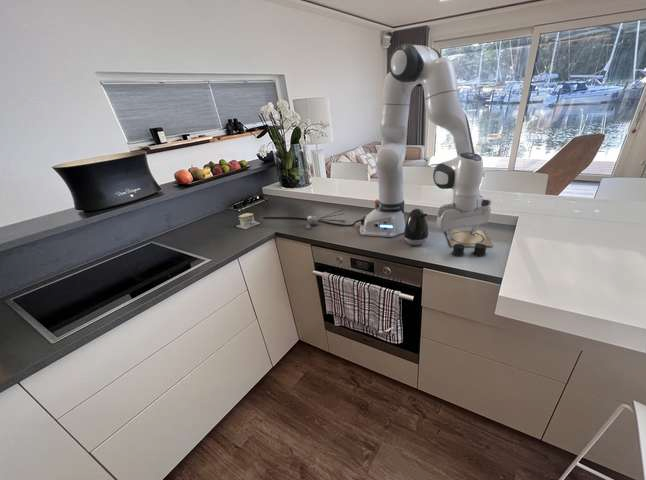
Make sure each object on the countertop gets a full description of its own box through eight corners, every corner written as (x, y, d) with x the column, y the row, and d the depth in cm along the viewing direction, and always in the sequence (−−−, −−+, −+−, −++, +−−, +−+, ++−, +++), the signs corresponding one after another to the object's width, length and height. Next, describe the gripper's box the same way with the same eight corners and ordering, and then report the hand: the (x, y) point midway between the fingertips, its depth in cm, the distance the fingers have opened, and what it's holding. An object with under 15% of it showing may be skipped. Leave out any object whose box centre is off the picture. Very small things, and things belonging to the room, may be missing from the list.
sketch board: (450, 247, 118) (450, 245, 118) (445, 231, 132) (445, 230, 131) (491, 247, 116) (491, 245, 115) (482, 231, 129) (482, 230, 129)
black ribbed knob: (453, 256, 111) (454, 248, 109) (452, 251, 114) (453, 243, 113) (464, 256, 110) (465, 248, 109) (462, 251, 114) (463, 243, 112)
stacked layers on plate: (245, 229, 150) (242, 219, 147) (235, 226, 155) (232, 216, 152) (261, 223, 156) (258, 213, 154) (251, 220, 161) (249, 211, 159)
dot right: (475, 256, 110) (476, 248, 108) (472, 251, 113) (474, 243, 112) (486, 256, 109) (487, 248, 108) (483, 251, 113) (484, 243, 111)
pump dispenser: (416, 250, 117) (417, 215, 110) (398, 242, 125) (399, 209, 117) (433, 243, 122) (435, 208, 115) (415, 235, 130) (416, 203, 122)
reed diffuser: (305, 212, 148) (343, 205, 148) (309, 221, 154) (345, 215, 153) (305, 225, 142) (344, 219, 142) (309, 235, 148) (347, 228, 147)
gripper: (443, 208, 98) (440, 244, 105) (495, 200, 101) (489, 235, 108) (434, 203, 103) (432, 238, 110) (484, 195, 107) (479, 229, 114)
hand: (461, 236), depth 109 cm, fingers open, 8 cm apart
